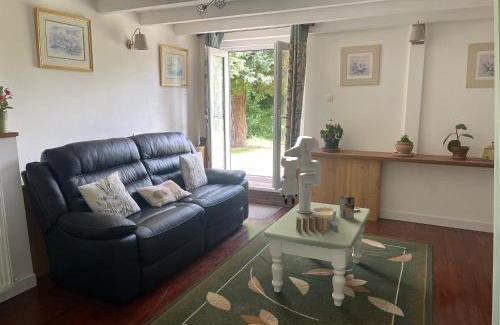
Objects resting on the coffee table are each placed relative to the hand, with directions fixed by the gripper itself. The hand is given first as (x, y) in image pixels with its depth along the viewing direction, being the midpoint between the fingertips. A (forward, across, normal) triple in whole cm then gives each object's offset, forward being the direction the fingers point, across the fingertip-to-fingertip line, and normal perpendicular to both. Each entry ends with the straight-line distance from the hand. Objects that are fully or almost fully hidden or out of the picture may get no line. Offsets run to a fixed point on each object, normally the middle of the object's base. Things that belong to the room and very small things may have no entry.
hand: (289, 203), depth 242 cm
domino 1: (+19, +7, 0) cm, 21 cm away
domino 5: (+19, +25, 0) cm, 32 cm away
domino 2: (+19, +12, 0) cm, 22 cm away
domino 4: (+19, +20, 0) cm, 28 cm away
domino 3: (+19, +16, 0) cm, 25 cm away
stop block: (+19, +32, 0) cm, 37 cm away
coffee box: (+20, +52, +24) cm, 61 cm away
